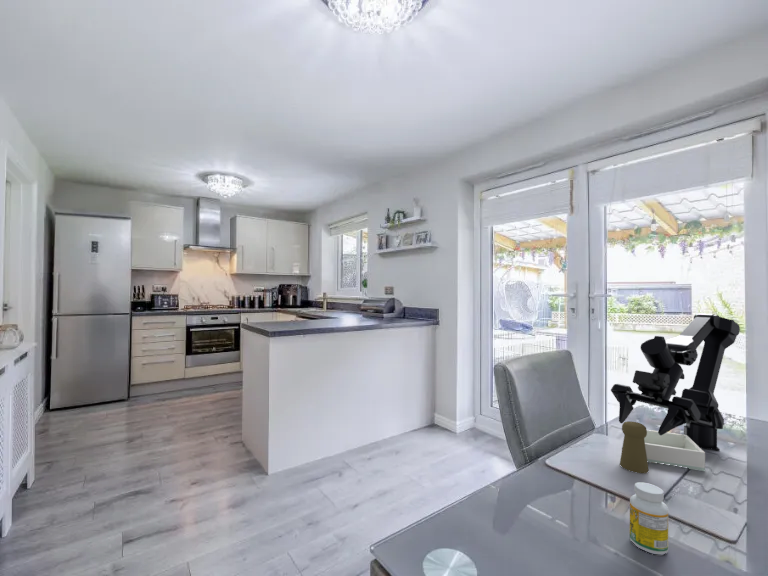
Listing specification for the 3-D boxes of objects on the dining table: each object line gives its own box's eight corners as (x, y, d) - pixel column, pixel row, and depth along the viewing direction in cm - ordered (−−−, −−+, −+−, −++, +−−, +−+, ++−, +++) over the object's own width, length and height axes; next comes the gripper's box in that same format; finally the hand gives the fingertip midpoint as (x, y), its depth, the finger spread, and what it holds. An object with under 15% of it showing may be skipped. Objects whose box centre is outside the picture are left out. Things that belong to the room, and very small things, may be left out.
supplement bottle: (667, 561, 59) (667, 500, 59) (627, 546, 63) (627, 488, 63) (669, 544, 63) (669, 487, 64) (631, 531, 67) (632, 477, 67)
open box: (686, 451, 103) (686, 434, 103) (705, 471, 91) (705, 452, 91) (630, 442, 109) (630, 427, 109) (640, 460, 97) (640, 443, 97)
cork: (639, 463, 95) (640, 419, 96) (654, 474, 89) (654, 427, 90) (614, 461, 96) (615, 418, 96) (627, 472, 90) (628, 426, 90)
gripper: (615, 354, 105) (589, 397, 100) (694, 366, 88) (669, 419, 83) (631, 380, 108) (607, 424, 103) (710, 396, 92) (687, 449, 86)
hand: (639, 427), depth 94 cm, fingers open, 9 cm apart
